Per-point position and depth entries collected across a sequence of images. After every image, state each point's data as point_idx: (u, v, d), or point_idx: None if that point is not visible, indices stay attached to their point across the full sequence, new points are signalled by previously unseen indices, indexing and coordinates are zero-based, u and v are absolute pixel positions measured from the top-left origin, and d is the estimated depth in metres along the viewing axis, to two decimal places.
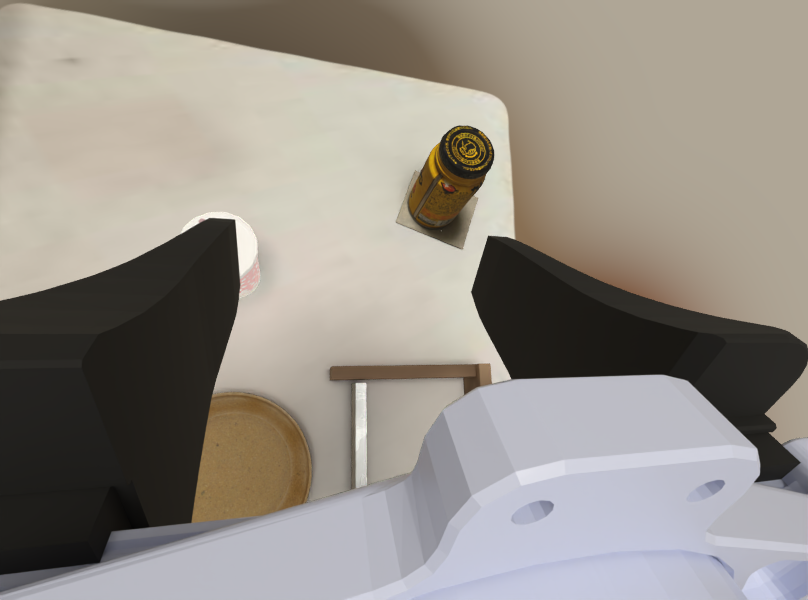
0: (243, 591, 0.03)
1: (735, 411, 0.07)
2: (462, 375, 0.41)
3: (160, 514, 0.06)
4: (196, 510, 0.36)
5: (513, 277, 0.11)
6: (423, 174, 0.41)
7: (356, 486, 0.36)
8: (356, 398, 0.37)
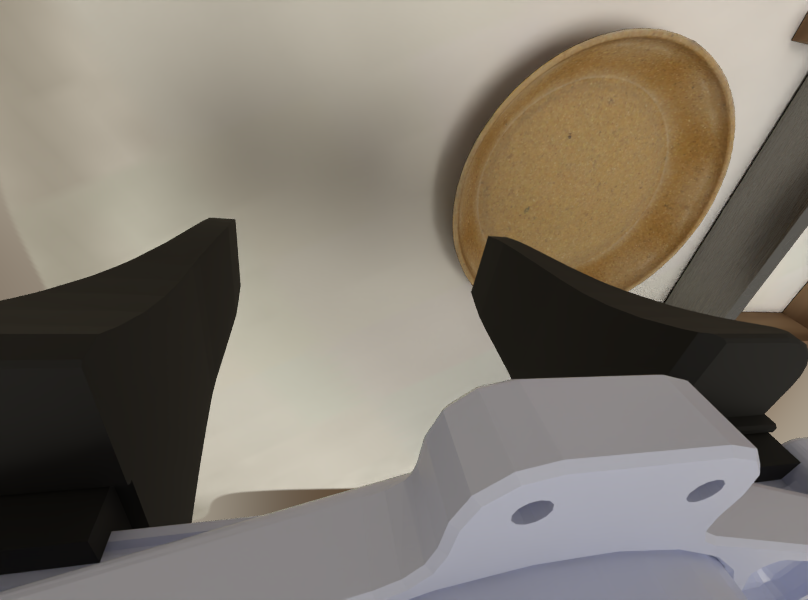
0: (243, 591, 0.03)
1: (735, 411, 0.07)
2: None
3: (160, 514, 0.06)
4: (512, 232, 0.23)
5: (513, 277, 0.11)
6: None
7: (774, 249, 0.22)
8: None
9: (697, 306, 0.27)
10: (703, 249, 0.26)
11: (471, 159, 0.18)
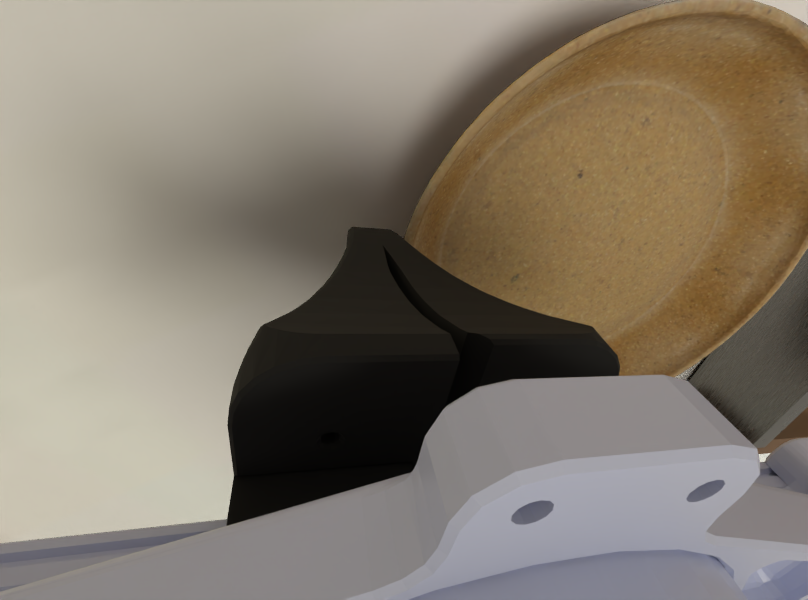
0: (243, 591, 0.03)
1: None
2: None
3: None
4: None
5: None
6: None
7: None
8: None
9: (736, 395, 0.19)
10: None
11: (418, 221, 0.11)
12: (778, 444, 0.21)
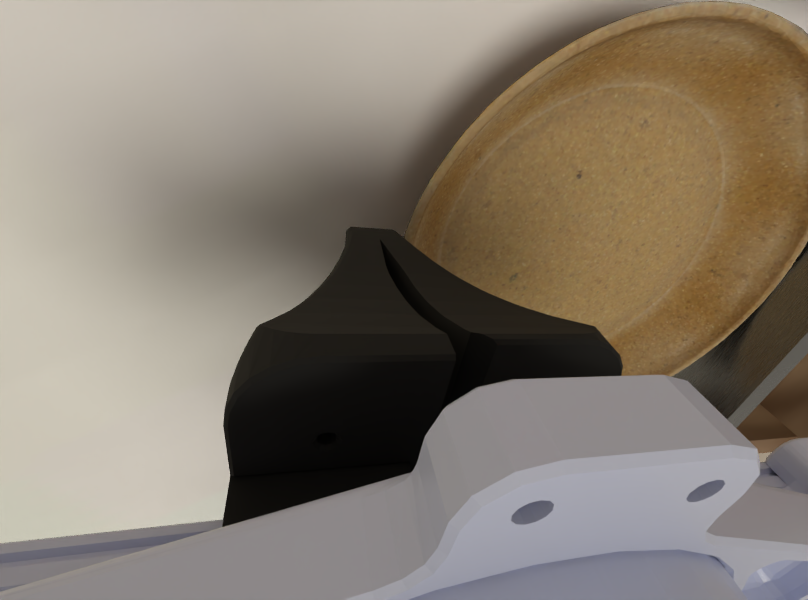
0: (243, 591, 0.03)
1: None
2: None
3: None
4: None
5: None
6: None
7: (802, 335, 0.14)
8: None
9: None
10: None
11: (418, 218, 0.11)
12: None
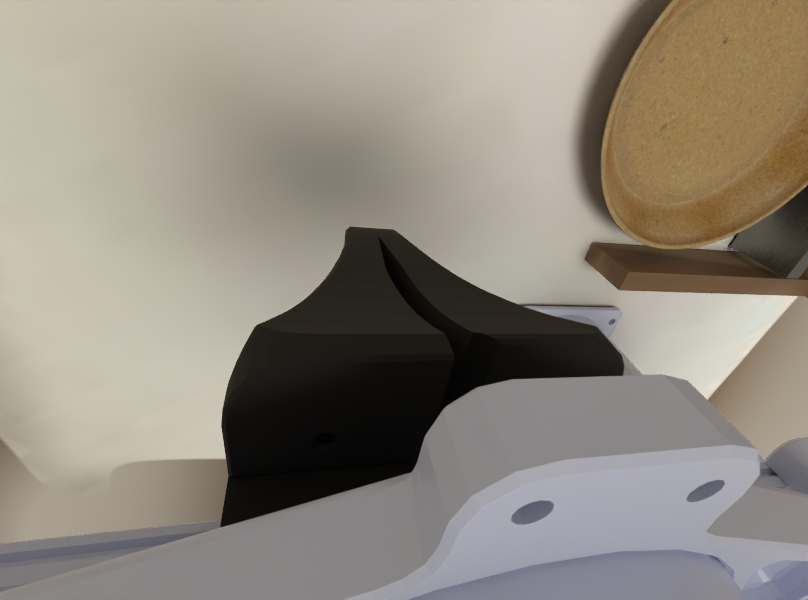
0: (243, 591, 0.03)
1: None
2: None
3: None
4: (643, 153, 0.22)
5: None
6: None
7: None
8: None
9: (775, 239, 0.24)
10: None
11: (643, 47, 0.17)
12: (704, 282, 0.24)
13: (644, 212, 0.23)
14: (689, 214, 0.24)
